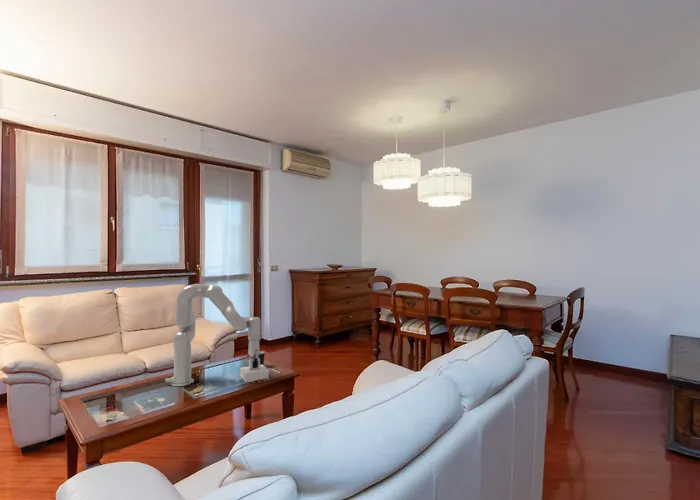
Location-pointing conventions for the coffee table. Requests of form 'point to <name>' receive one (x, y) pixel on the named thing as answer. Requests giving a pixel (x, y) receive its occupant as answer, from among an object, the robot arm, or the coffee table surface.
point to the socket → (253, 373)
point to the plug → (252, 364)
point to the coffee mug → (261, 356)
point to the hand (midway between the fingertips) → (254, 366)
